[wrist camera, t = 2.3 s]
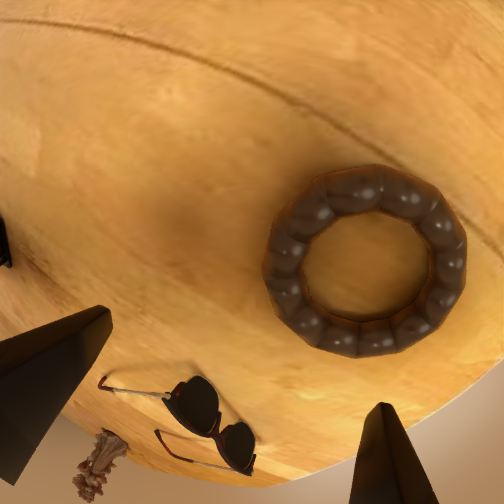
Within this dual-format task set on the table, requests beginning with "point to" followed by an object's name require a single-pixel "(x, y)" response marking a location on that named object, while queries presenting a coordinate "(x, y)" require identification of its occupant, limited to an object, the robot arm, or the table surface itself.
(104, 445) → the figurine
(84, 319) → the robot arm
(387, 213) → the ring
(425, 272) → the table surface
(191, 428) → the sunglasses
